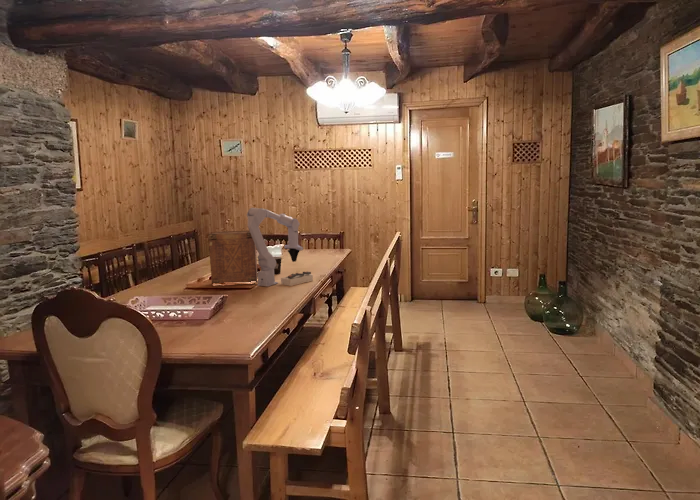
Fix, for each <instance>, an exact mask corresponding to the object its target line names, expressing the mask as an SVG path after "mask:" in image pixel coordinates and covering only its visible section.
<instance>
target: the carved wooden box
mask: <svg viewBox="0 0 700 500" xmlns="http://www.w3.org/2000/svg"><path fill="white" fill-rule="evenodd" d="M207 236H208V250H209V262H210V265H209V266H210V275H211V276H210V277H211V280H210V281H211V284H212V283H224V282H251V281H256V282H257V283H258V281H257V278H258V262H257V261H258V255H257V248H256V246H255V243H254V241H253V238H252V236H251V233H250V231H249V230H234V231H233V230H231V231H230V230H229V231H226V230H225V231H211V232H210V233H208V235H207Z"/></svg>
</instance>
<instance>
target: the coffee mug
mask: <svg viewBox="0 0 700 500" xmlns="http://www.w3.org/2000/svg"><path fill="white" fill-rule="evenodd" d="M273 258H274V259H275V260H276V266H275V269H274V276H275V275H276V276H277V275H280V274H281V271H282V257H281V256H273Z"/></svg>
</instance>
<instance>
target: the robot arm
mask: <svg viewBox="0 0 700 500" xmlns="http://www.w3.org/2000/svg"><path fill="white" fill-rule="evenodd" d="M246 217H247V227H248V231H250V233H251V236H252V238H253V241H254V243H255V246H256V252H257V253H258V255H257V261H258V262H257V264H258V266H259V267H260V269H261V270H259V271H258V272H257V276H258V281H257V284H256V285H257V286H259V287H260V286H261V287H270V286H274V285H276V284H278V283H279V282H278V281H276V279H275V278H276V277H275V275H274V269H275V266H276V260H275V259H274V258H273V257H274V256H273V254H272V253H271V252H270V251H269V249H268V246H267V245H266V242H265V239H264V237H263V234H262V232H261V229H260V224H262V222H263V221H264V220H265V219H266V218H269V219H273V220H276V222H277V224H280V225H282V226H285V227H287V239H288V240H287V241H288V244H285V245H284V249H286V250H287V249H288V250H287V253H288V254H289V256H290V259H291V262H293V263H294V262H297V259H298V256H299V253H300V251H303V250H304V246H301V245H300V244H299V227H300V225H301V224H300V221H299V220H298V219H297V218H294V217H292V216H290V215H289V216H288V215H286V213H279V214H278V213H275V212H273V211H271V210H269V209H266V208H263V207H261V208H258V207H250V208H249V209H248V211H247V213H246Z"/></svg>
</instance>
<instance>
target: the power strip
mask: <svg viewBox="0 0 700 500" xmlns="http://www.w3.org/2000/svg"><path fill="white" fill-rule="evenodd" d="M301 273H302V274H303V272H301ZM280 280H281V281H280V282H281V283H280V284H281V285H284V286H289V287H291V286H292V287H293V286H296V285H301V284H304V283H309V282H313V281H314V275H313V274H312V273H311V274H304V276H298V275H296V277H294V278H292V279H290V278H288V276H285V277H284V276H283V277H281V278H280Z"/></svg>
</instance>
